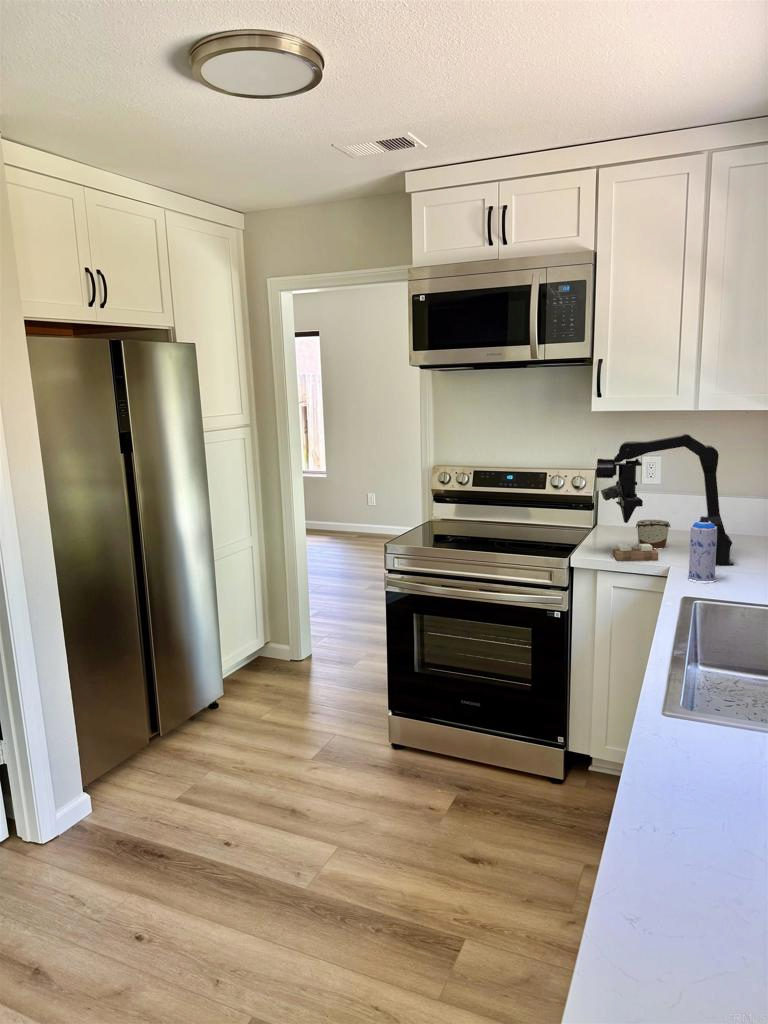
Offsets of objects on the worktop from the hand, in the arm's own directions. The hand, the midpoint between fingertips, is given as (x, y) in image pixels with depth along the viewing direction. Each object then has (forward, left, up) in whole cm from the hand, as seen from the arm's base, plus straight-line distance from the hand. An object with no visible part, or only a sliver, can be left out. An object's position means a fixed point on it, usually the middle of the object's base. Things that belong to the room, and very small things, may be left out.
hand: (625, 522), depth 245 cm
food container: (+17, -13, -13) cm, 25 cm away
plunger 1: (0, 0, -13) cm, 13 cm away
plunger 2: (0, -7, -13) cm, 15 cm away
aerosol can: (-28, -16, -13) cm, 35 cm away
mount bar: (0, -3, -13) cm, 13 cm away
